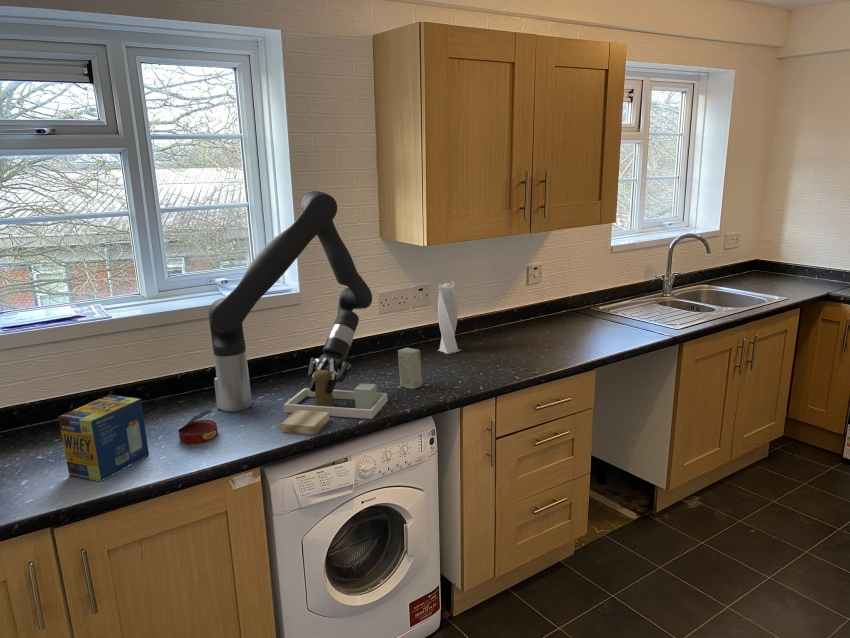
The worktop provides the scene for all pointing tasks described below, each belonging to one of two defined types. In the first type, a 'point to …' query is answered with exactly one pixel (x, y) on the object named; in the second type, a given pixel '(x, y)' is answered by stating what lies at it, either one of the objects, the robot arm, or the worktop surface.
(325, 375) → the olive pawn
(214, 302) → the robot arm
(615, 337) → the worktop surface
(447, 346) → the skyscraper
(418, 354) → the skincare box
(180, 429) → the canned food
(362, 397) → the sage block
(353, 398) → the white rectangular frame
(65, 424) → the protein box
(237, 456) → the worktop surface
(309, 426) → the board
